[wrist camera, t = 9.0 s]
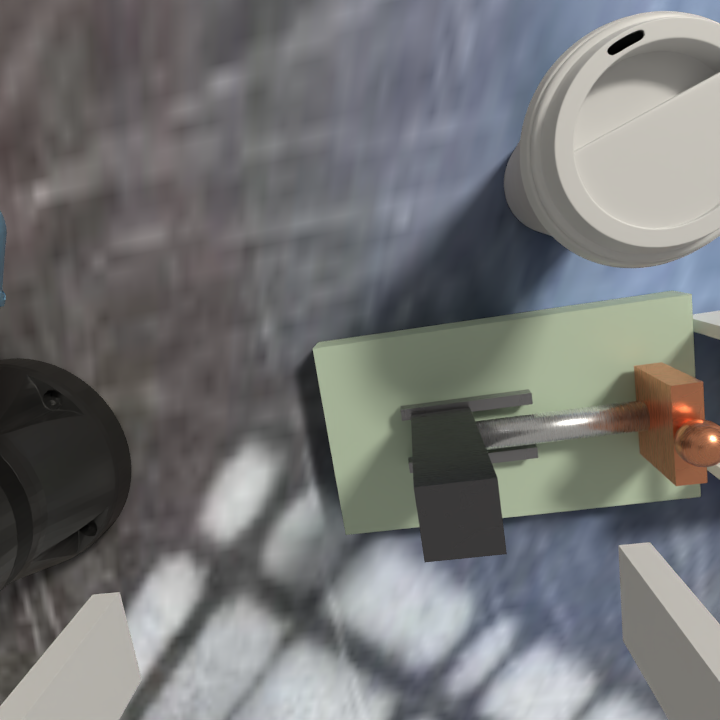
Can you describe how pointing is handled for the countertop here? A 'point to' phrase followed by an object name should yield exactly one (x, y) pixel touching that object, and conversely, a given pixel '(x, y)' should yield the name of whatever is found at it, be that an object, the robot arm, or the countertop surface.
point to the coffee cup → (625, 143)
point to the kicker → (473, 438)
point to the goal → (716, 327)
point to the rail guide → (479, 405)
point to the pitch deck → (498, 375)
